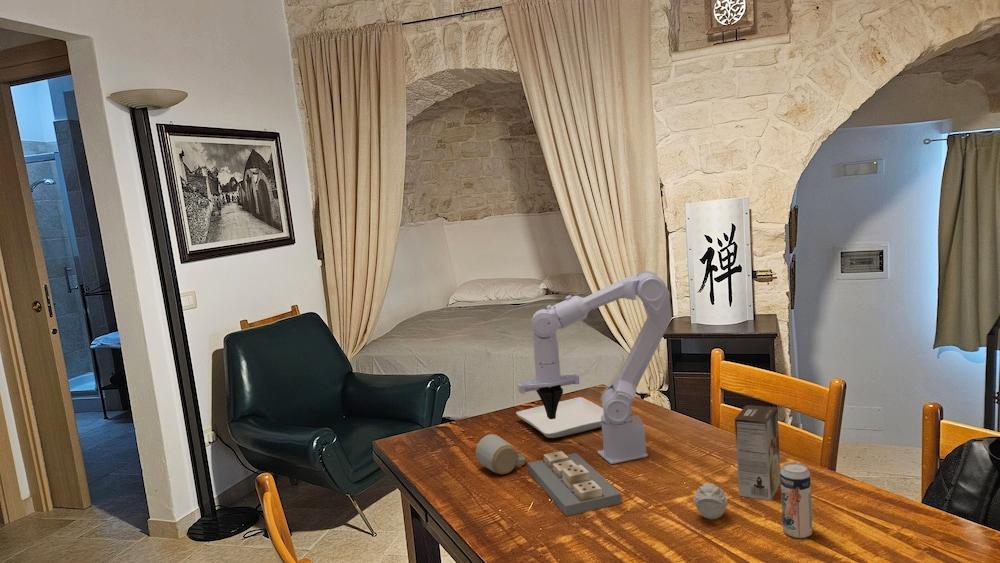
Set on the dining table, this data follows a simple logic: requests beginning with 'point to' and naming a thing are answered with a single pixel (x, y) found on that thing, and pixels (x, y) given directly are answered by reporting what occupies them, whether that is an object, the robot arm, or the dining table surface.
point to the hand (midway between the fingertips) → (551, 417)
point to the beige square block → (587, 491)
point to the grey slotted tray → (565, 496)
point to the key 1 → (554, 458)
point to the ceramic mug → (497, 454)
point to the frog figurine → (710, 501)
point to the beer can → (796, 500)
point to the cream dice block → (559, 466)
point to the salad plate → (565, 418)
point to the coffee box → (758, 452)
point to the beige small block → (574, 475)
